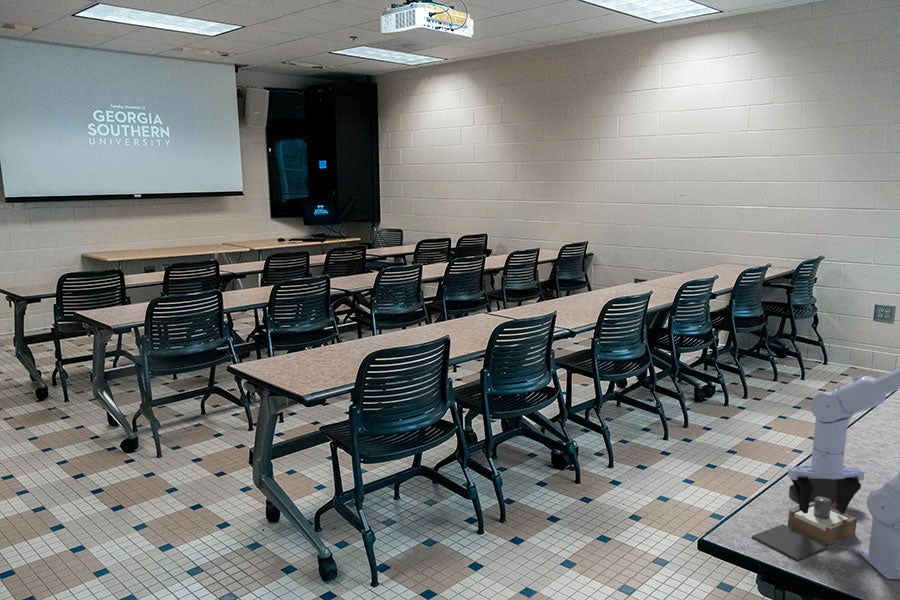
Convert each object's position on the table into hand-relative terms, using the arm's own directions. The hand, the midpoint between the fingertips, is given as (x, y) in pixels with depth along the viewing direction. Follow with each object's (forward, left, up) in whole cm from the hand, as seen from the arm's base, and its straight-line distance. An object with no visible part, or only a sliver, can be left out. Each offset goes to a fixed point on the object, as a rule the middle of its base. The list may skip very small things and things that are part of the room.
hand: (821, 511), depth 142 cm
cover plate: (0, 0, -2) cm, 2 cm away
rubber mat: (-5, +9, -4) cm, 11 cm away
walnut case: (0, 0, -4) cm, 4 cm away
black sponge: (+12, -7, -2) cm, 14 cm away
